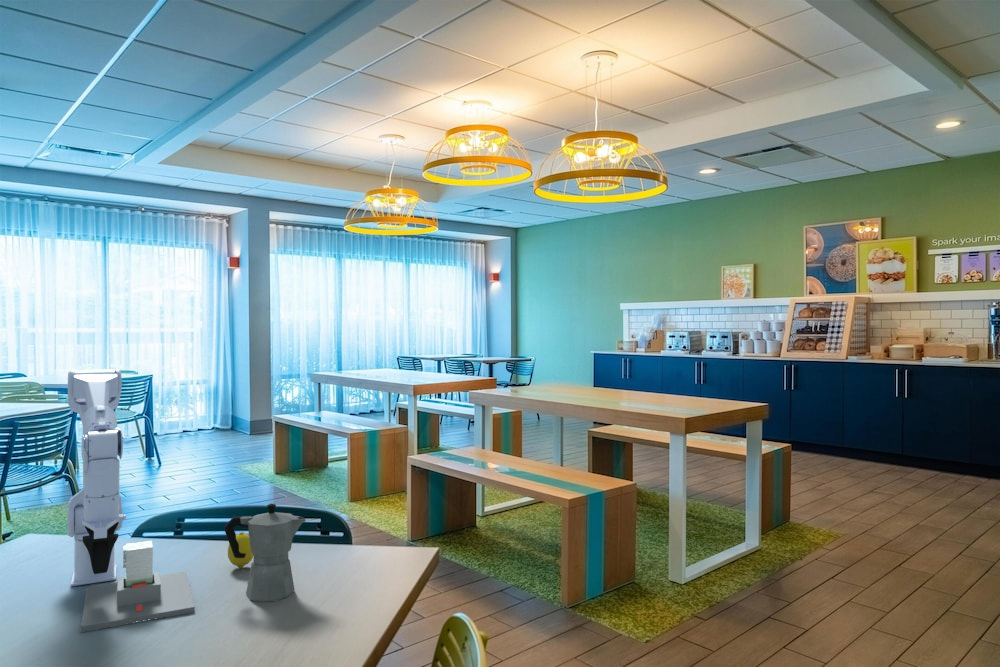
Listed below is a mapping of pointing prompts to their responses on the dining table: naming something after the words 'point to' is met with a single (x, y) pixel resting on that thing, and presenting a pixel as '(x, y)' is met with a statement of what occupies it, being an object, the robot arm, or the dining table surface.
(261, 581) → the coffeepot
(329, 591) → the dining table surface
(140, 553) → the white rectangular block
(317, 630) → the dining table surface
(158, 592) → the jack base
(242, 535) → the lemon
